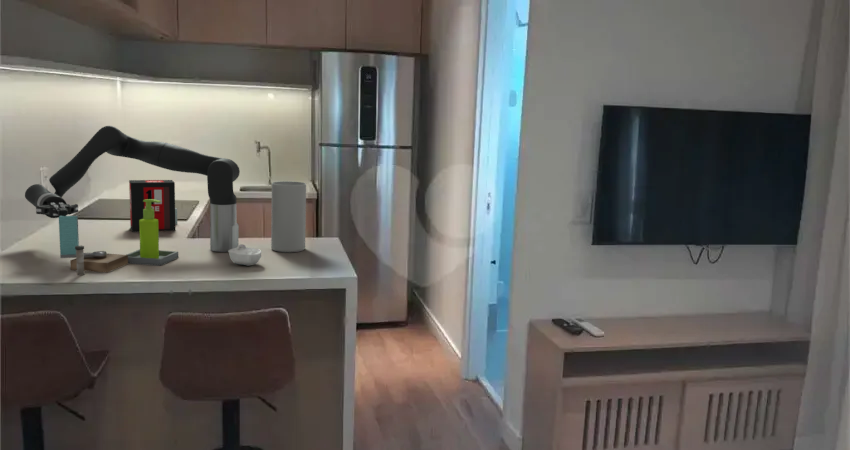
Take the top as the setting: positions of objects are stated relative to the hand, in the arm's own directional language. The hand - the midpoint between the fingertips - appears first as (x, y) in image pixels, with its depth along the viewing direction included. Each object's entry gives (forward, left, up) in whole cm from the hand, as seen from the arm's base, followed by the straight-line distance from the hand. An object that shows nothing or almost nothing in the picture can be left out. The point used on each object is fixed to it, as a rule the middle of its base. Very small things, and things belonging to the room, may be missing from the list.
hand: (63, 213), depth 214 cm
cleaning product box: (+4, -64, -17) cm, 66 cm away
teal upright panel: (-7, +2, -13) cm, 15 cm away
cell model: (-54, -16, -17) cm, 58 cm away
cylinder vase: (-60, -44, -17) cm, 76 cm away
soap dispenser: (-22, -13, -16) cm, 30 cm away
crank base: (-12, +3, -17) cm, 20 cm away
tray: (-22, -13, -17) cm, 30 cm away
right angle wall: (+8, -81, -17) cm, 83 cm away
